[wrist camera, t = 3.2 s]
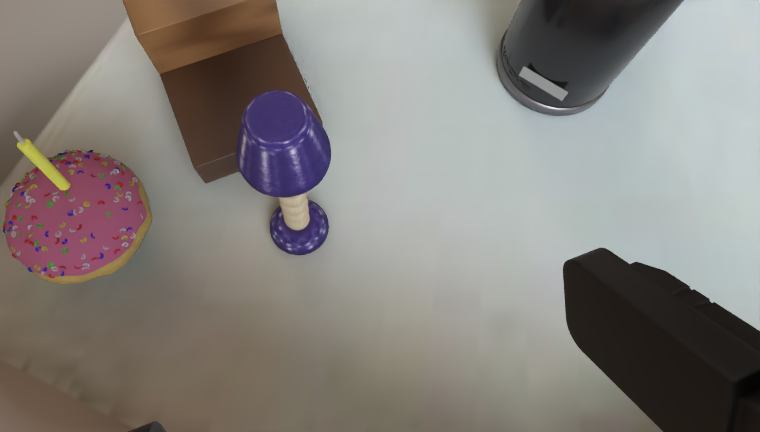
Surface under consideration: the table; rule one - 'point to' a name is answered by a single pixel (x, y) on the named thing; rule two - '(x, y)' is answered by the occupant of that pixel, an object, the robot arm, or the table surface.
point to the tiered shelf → (215, 68)
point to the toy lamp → (286, 165)
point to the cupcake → (75, 215)
